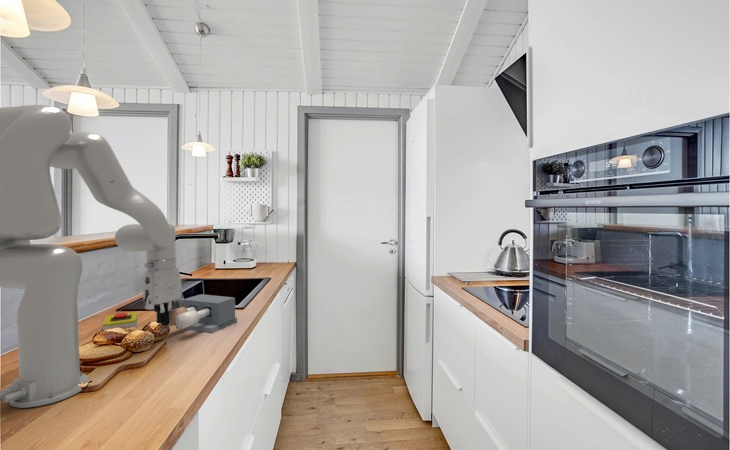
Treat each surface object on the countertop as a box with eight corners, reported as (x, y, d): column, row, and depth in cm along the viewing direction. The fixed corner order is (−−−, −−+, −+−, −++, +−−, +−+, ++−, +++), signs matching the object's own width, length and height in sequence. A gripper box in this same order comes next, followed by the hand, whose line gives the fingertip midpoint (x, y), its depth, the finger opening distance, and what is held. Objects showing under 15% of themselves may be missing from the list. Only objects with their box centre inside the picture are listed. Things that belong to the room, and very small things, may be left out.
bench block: (211, 333, 110) (211, 305, 109) (175, 327, 114) (175, 301, 114) (237, 321, 121) (236, 296, 121) (203, 317, 126) (202, 293, 125)
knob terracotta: (175, 325, 106) (175, 311, 106) (164, 324, 108) (164, 310, 108) (204, 315, 117) (203, 302, 117) (193, 314, 119) (193, 301, 119)
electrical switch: (188, 321, 121) (185, 296, 120) (173, 327, 117) (170, 300, 116) (173, 317, 126) (170, 292, 125) (159, 322, 122) (155, 297, 121)
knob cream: (186, 329, 103) (186, 315, 103) (175, 328, 104) (175, 313, 104) (215, 318, 114) (214, 305, 114) (204, 317, 115) (204, 304, 115)
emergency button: (101, 322, 108) (106, 310, 121) (101, 336, 108) (106, 323, 121) (136, 317, 113) (138, 306, 126) (136, 330, 113) (138, 318, 126)
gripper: (148, 269, 96) (150, 334, 97) (191, 261, 110) (192, 318, 111) (128, 267, 98) (130, 331, 99) (173, 260, 112) (174, 316, 113)
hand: (163, 324), depth 105 cm, fingers closed
